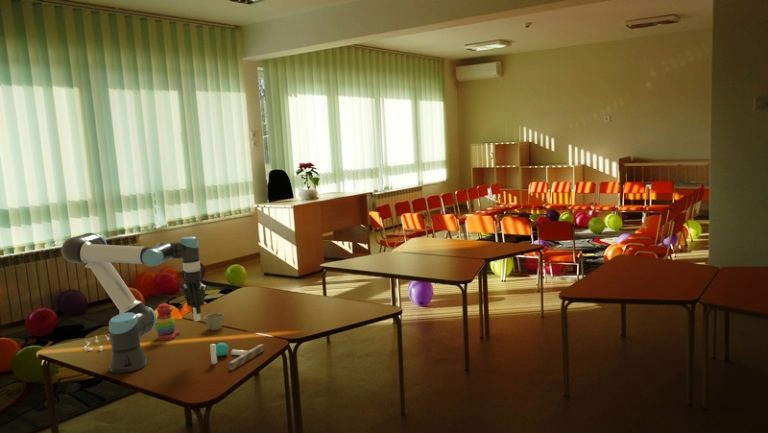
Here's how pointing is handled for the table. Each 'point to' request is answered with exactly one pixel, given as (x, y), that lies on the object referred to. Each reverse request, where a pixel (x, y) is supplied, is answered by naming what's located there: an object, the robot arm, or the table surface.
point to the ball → (221, 349)
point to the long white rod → (246, 357)
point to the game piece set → (92, 348)
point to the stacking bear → (165, 323)
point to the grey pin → (213, 353)
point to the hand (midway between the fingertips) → (197, 320)
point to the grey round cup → (214, 320)
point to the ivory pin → (238, 352)
